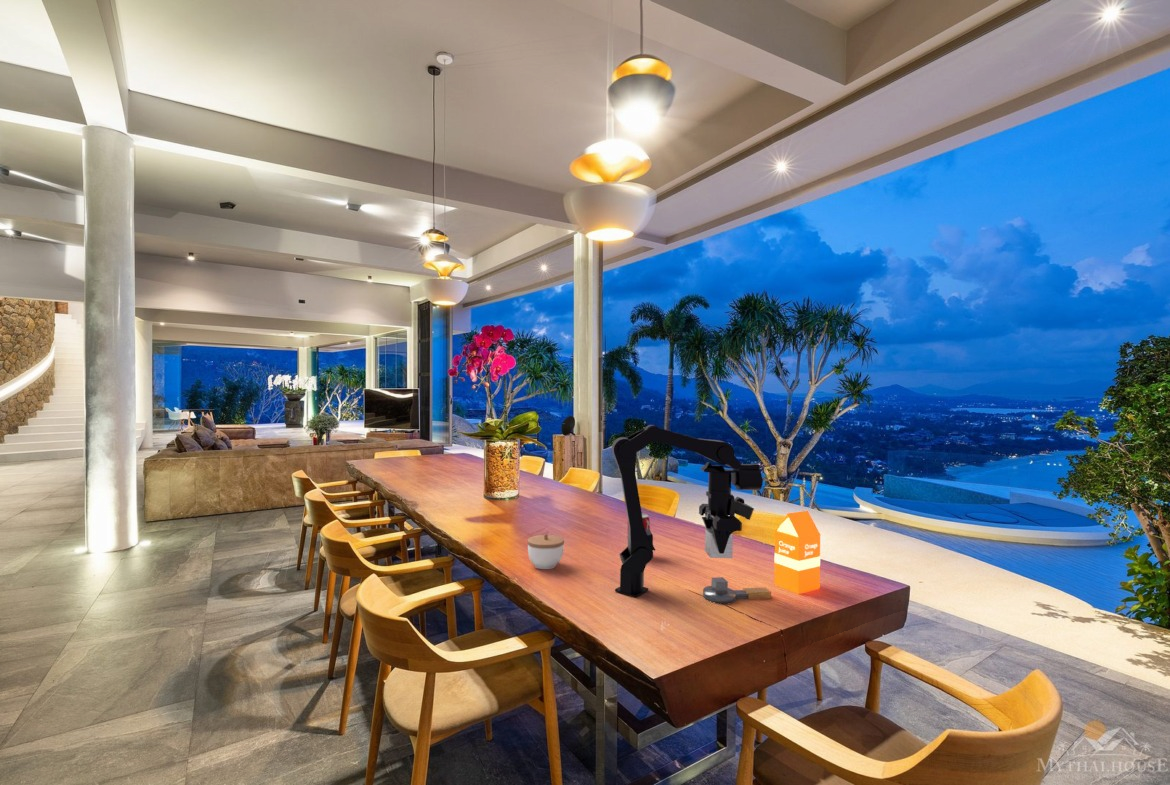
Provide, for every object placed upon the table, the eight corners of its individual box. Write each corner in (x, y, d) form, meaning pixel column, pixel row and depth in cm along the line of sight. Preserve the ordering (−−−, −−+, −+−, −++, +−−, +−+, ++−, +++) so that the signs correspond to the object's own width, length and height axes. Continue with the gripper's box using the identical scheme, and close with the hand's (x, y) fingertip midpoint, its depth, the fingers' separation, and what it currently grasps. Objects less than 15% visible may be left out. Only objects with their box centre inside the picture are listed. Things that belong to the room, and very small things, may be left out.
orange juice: (820, 588, 133) (821, 513, 133) (798, 594, 129) (799, 516, 129) (795, 579, 140) (796, 507, 140) (773, 584, 135) (774, 510, 136)
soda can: (651, 560, 154) (651, 517, 154) (627, 559, 154) (628, 517, 154) (648, 553, 161) (649, 512, 161) (626, 552, 161) (627, 512, 162)
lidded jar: (525, 561, 151) (525, 529, 151) (560, 559, 153) (560, 528, 154) (529, 573, 141) (529, 539, 141) (566, 571, 143) (567, 538, 143)
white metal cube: (732, 558, 127) (732, 534, 127) (710, 557, 127) (710, 533, 127) (725, 551, 132) (726, 528, 132) (704, 551, 132) (705, 528, 132)
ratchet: (710, 604, 121) (710, 585, 121) (698, 591, 129) (698, 574, 129) (776, 602, 123) (776, 584, 123) (760, 590, 131) (760, 572, 131)
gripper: (763, 497, 120) (762, 562, 120) (739, 484, 139) (737, 540, 139) (717, 496, 120) (716, 561, 120) (699, 483, 139) (697, 539, 139)
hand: (718, 549), depth 129 cm, fingers closed on white metal cube, 6 cm apart
